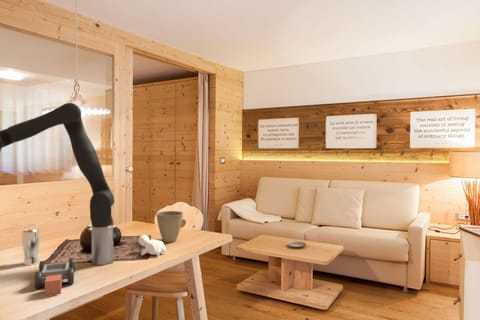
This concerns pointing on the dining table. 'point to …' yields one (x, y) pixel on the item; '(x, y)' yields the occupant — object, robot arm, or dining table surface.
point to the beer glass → (30, 246)
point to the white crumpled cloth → (151, 246)
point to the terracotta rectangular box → (53, 285)
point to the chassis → (55, 271)
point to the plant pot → (169, 224)
